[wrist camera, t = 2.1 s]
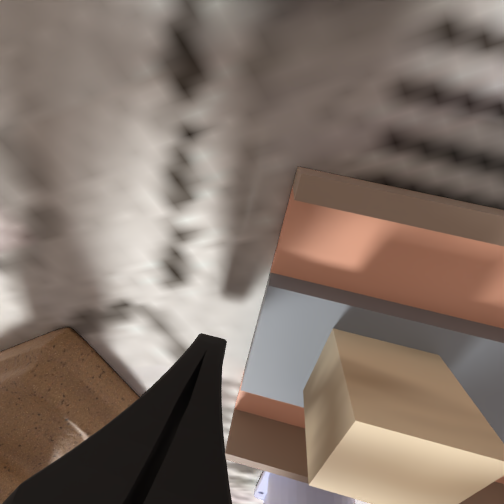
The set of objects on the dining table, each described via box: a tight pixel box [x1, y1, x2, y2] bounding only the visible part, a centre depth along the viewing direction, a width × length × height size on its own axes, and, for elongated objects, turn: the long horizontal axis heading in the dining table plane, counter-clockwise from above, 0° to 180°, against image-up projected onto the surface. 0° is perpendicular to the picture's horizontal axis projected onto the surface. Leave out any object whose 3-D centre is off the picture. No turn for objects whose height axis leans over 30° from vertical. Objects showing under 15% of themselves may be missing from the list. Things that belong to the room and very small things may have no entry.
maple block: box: [303, 328, 504, 504], centre depth 10 cm, size 5×5×4 cm
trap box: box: [225, 166, 504, 504], centre depth 11 cm, size 18×23×3 cm
